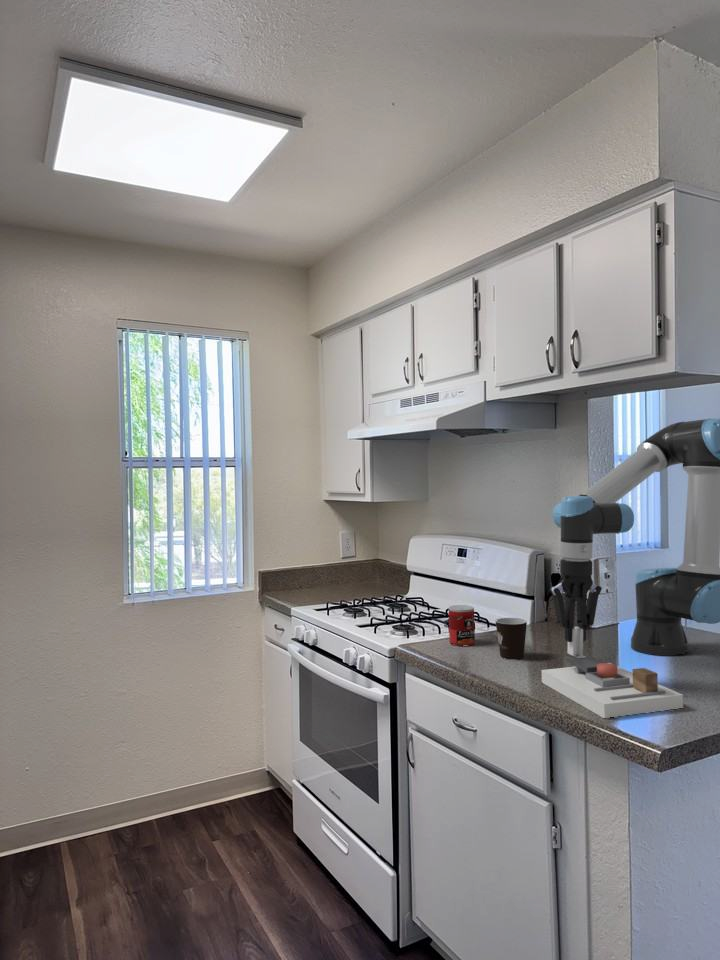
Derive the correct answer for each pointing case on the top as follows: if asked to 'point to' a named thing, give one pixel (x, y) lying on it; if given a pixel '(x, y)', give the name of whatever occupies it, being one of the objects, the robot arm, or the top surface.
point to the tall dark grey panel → (584, 662)
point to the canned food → (461, 625)
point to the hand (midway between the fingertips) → (575, 654)
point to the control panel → (609, 692)
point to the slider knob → (645, 680)
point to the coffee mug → (511, 637)
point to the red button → (607, 670)
